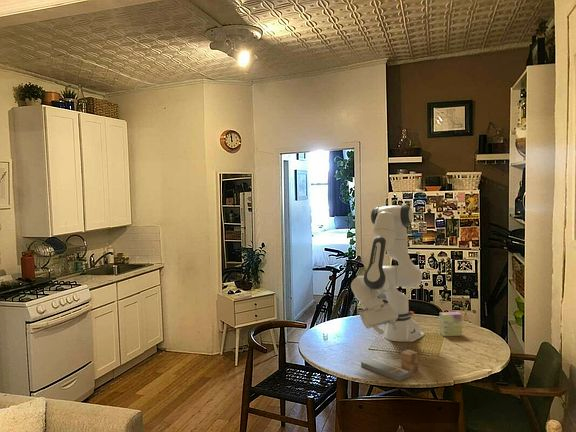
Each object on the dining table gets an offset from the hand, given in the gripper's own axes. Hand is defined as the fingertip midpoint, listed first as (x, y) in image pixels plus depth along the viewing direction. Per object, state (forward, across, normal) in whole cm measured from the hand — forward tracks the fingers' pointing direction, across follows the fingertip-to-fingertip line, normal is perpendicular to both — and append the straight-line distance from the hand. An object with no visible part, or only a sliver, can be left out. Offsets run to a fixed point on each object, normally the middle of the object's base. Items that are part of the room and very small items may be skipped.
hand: (389, 331), depth 214 cm
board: (+14, -9, +6) cm, 18 cm away
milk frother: (-25, +50, +47) cm, 73 cm away
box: (+7, +56, +15) cm, 58 cm away
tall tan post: (+19, 0, +2) cm, 19 cm away
